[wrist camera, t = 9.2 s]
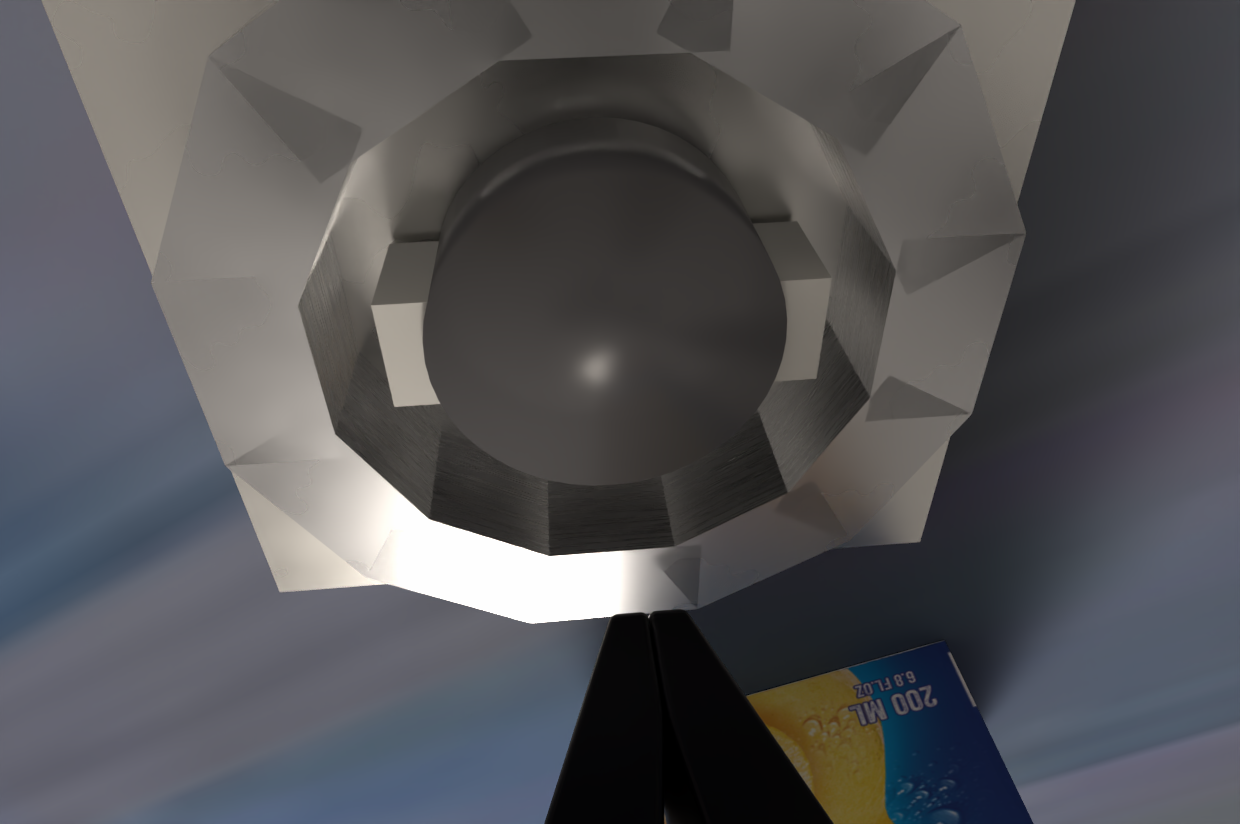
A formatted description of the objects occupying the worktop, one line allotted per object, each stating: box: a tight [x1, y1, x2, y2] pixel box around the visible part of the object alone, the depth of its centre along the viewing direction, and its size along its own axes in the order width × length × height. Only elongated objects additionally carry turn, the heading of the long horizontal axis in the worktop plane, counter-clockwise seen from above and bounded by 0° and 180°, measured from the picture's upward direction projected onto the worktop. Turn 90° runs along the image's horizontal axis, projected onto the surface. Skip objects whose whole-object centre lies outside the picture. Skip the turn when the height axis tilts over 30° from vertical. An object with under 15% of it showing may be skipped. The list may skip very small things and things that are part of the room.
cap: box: [371, 117, 832, 486], centre depth 15 cm, size 6×7×3 cm
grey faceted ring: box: [42, 0, 1076, 623], centre depth 15 cm, size 16×16×3 cm
